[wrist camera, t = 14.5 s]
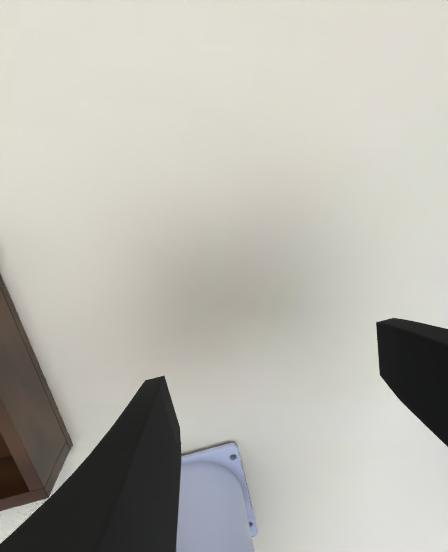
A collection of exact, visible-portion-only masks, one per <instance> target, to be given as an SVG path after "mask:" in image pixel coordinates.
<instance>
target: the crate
mask: <svg viewBox="0 0 448 552" xmlns="http://www.w3.org/2000/svg"><path fill="white" fill-rule="evenodd" d="M71 447H72V442H71V440H70V437H69V435H68V433H67V430H66V428H65V425H64V423H63V421H62V418H61V416H60V414H59V411H58V409H57V407H56V404H55V402H54V400H53V397H52V395H51V393H50V390H49V388H48V385H47V383H46V381H45V378H44V376H43V374H42V371H41V369H40V367H39V364H38V362H37V360H36V357H35V355H34V353H33V350H32V348H31V345H30V343H29V341H28V338H27V336H26V334H25V331H24V329H23V327H22V324H21V322H20V320H19V317H18V315H17V313H16V310H15V308H14V305H13V303H12V301H11V298H10V296H9V294H8V291H7V289H6V287H5V284H4V282H3V280H2V277H1V275H0V511H2V510H6V509H10V508H13V507H17V506H21V505H24V504H28V503H32V502H35V501H39V500H43V499H46V498H48V497H49V496H50V493H51V491H52V489H53V487H54V484H55V482H56V480H57V478H58V476H59V473H60V471H61V469H62V467H63V464H64V462H65V460H66V458H67V455H68V453H69V451H70V449H71Z"/></svg>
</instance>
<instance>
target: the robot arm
mask: <svg viewBox="0 0 448 552" xmlns="http://www.w3.org/2000/svg"><path fill="white" fill-rule="evenodd" d="M376 326H377V340H378V355H379V369H380V376H381V377H382V378H383V379H384V381H385V382H386V383H387V385H388V386H389V387H390V389H391V390H392V391H393V392H394V393H395V395H396V396H397V397H398V398H399V399H400V401H401V402H402V403H403V404H404V405H405V406H406V407H407V408H408V409H409V410H410V411H411V412H413V413H414V414H415V415H416V416H417V417H418V418H419V419H420V420H421V421H422V422H423V423H424V424H425V425H426V426H427V427H428V428H429V429H430V430H431V431H432V432H433V433H434V434H435V435H436V436H437V437H438V438H439V439H440V440H441V441H442V442H443V443H445V444H446V445H447V446H448V329H445V328H440V327H436V326H432V325H428V324H423V323H419V322H414V321H409V320H404V319H397V318H392V319H388V320H384V321H380V322H376ZM233 454H234V455H233ZM231 455H233V456H231ZM256 534H257V526H256V522H255V518H254V514H253V510H252V505H251V501H250V497H249V493H248V489H247V484H246V480H245V476H244V472H243V467H242V463H241V459H240V455H239V451H238V447H237V445H236V444H235V443H228V444H225V445H221V446H217V447H214V448H210V449H206V450H203V451H199V452H195V453H191V454H188V455H184V456H181V440H180V427H179V423H178V420H177V417H176V413H175V410H174V407H173V403H172V400H171V396H170V393H169V390H168V386H167V383H166V380H165V376H161V377H157V378H153V379H149V380H145V382H144V383H143V384H142V386H141V387H140V389H139V390H138V391H137V393H136V394H135V396H134V397H133V399H132V400H131V401H130V403H129V404H128V406H127V407H126V408H125V410H124V411H123V413H122V414H121V415H120V417H119V418H118V419H117V421H116V422H115V424H114V425H113V426H112V428H111V429H110V430H109V431H108V432H107V434H106V435H105V436H104V437H103V439H102V440H101V441H100V442H99V444H98V445H97V446H96V447H95V449H94V450H93V451H92V452H91V454H90V455H89V456H88V457H87V458H86V460H85V461H84V462H83V463H82V464H81V465H80V466H79V467H78V469H77V470H76V471H75V472H74V473H73V474H72V475H71V476H70V477H69V478H68V479H67V480H66V481H65V482H64V484H63V485H62V486H61V487H60V488H59V489H58V490H57V491H56V492H55V493H54V494H53V495H52V496H51V497H50V498H49V499H48V500H47V501H46V502H45V503H44V504H43V505H42V506H41V507H39V508H38V509H37V510H36V511H35V512H34V513H33V514H32V515H31V516H30V517H29V518H28V519H27V520H26V521H25V522H24V523H23V524H22V525H20V526H19V527H18V528H17V529H16V530H15V531H14V532H13V533H12V534H11V535H10V536H9V537H8V538H6V539H5V540H4V541H3V542H2V543H1V544H0V552H254V547H253V542H252V537H254V536H256Z"/></svg>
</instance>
